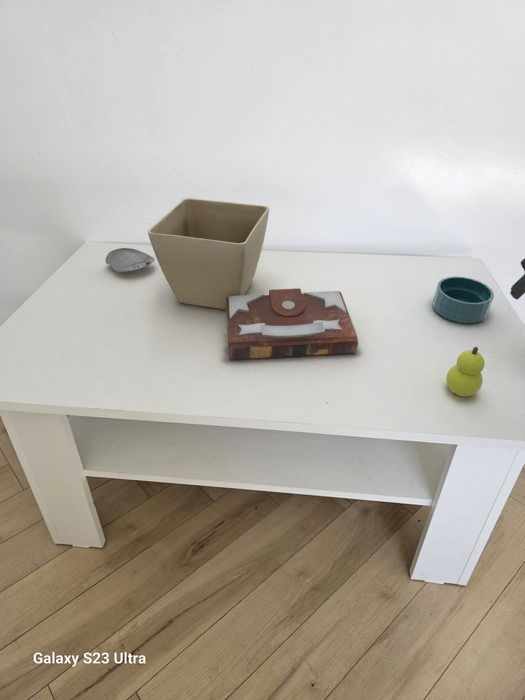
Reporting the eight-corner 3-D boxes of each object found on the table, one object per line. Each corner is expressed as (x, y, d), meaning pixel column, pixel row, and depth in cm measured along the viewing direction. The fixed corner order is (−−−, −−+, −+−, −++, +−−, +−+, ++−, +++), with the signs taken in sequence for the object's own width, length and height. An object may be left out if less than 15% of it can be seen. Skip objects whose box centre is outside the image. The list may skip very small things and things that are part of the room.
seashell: (97, 276, 105) (92, 256, 102) (114, 259, 112) (110, 240, 109) (146, 281, 104) (143, 261, 100) (160, 264, 110) (157, 245, 107)
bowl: (493, 309, 95) (501, 288, 92) (473, 332, 89) (481, 310, 86) (445, 291, 101) (451, 271, 98) (422, 311, 95) (428, 290, 92)
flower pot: (191, 266, 109) (184, 196, 99) (269, 276, 106) (270, 205, 95) (157, 309, 95) (145, 232, 84) (246, 323, 91) (244, 244, 81)
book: (229, 364, 82) (228, 344, 79) (226, 310, 94) (225, 290, 90) (355, 357, 84) (359, 337, 81) (337, 305, 95) (340, 285, 92)
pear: (482, 390, 76) (500, 346, 71) (468, 408, 73) (487, 363, 67) (451, 376, 79) (466, 332, 73) (437, 392, 76) (451, 347, 70)
